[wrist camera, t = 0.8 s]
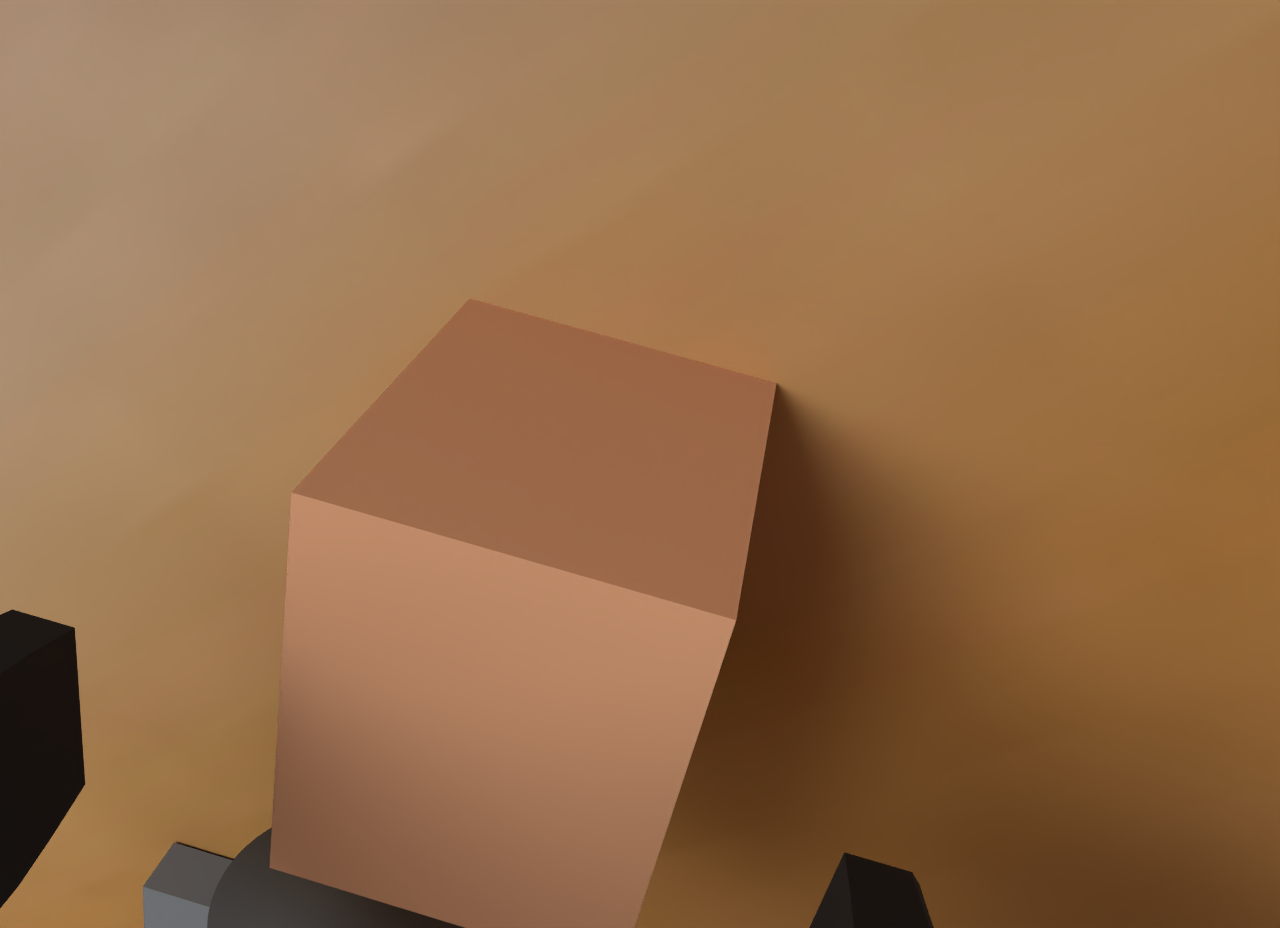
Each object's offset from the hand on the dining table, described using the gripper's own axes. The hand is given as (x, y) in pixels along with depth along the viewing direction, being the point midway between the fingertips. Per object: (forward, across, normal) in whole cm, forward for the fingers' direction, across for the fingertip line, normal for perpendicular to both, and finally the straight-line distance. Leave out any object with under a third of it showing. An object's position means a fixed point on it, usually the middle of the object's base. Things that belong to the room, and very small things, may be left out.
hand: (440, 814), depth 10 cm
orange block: (+6, 0, 0) cm, 6 cm away
